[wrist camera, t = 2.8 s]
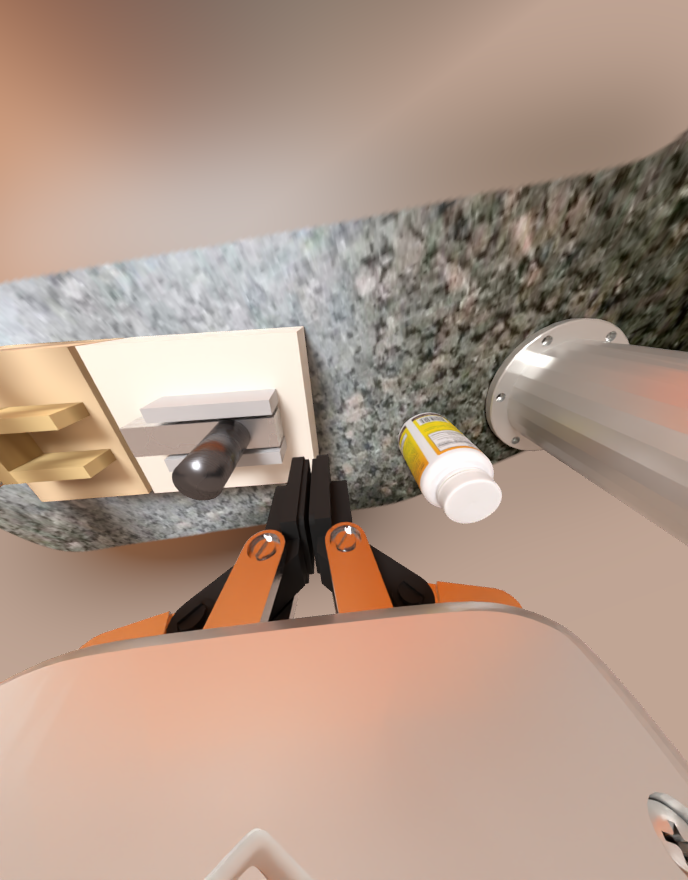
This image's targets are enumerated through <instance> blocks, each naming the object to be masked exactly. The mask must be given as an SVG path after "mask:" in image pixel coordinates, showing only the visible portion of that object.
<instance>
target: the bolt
mask: <svg viewBox="0 0 688 880" xmlns="http://www.w3.org/2000/svg"><path fill="white" fill-rule="evenodd" d="M120 431H121V433H122V435H123V437H124V439H125V440H126V442H127V444H128V446H129V448H130V450H131V451H132V453H133V455H134V457H146V456H159V455H173V454H186V453H189V454H188V455H187V456H186V457H185V458H184V459H183V460H182V461H181V462H180V464H179V465H178V466H177V467H176V468H175V469H174V471H173V473H172V481H173V484H174V485H175V487H176V488H177V489H178V490H179V491H180V492H181V493H182V494H184V495H185V496H187V497H189V498H192V499H196V500H210V499H213V498H215V497H217V496H218V495H219V494H220V493H221V491H222V490H223V488H224V486H225V484H226V483H227V481H228V479H229V478H230V476H231V474H232V472H233V471H234V469H235V467H236V465H237V464H238V462H239V460H240V459H241V457H242V455H243V453H244V452H245V450H246V449H253V448H267V447H279V446H280V443H281V441H282V438H283V435H284V431H283V426H282V421H281V416H280V411H279V407H276V408H275V410H274V412H273V414H272V415H260V416H246V417H233V418H219V419H205V420H191V421H177V422H163V423H149V424H146V422H145V420H144V418H143V417H138V418H137V419H135V420H133V421H132V422H130V423H128V424H127V425H125V426H123V427H121V428H120Z"/></svg>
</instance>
